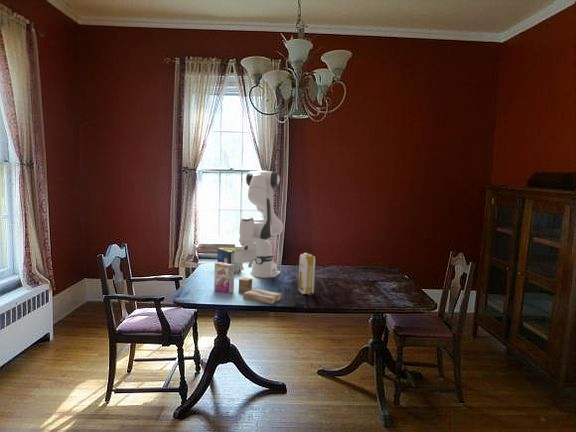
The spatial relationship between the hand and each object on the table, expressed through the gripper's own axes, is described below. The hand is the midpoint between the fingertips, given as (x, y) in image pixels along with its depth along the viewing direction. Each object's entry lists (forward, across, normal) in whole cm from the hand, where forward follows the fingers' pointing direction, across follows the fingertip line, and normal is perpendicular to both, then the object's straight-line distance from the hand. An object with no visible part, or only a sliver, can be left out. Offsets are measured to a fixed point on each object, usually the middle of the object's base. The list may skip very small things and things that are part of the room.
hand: (245, 268), depth 249 cm
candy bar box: (+14, +5, -11) cm, 19 cm away
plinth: (+14, +5, +15) cm, 21 cm away
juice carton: (+14, -19, +31) cm, 39 cm away
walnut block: (+14, -1, 0) cm, 14 cm away
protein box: (+13, -39, -37) cm, 55 cm away
